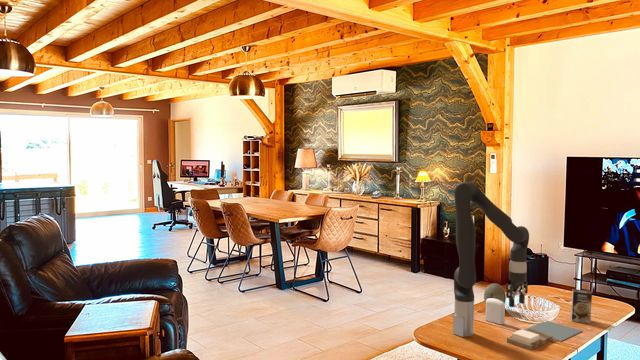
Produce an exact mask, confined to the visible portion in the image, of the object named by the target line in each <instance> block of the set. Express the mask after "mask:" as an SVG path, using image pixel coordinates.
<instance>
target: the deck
mask: <svg viewBox="0 0 640 360" xmlns="http://www.w3.org/2000/svg"><path fill="white" fill-rule="evenodd" d="M526 331H529V332H532V333H535V334H538V335H539V340H538V341H536V342H533V343H531V344H528V343H525V342H522V341H519V340H516V339H513V338H512V335H511V336H509V337H507V338H506V343H508V344H511V345H514V346H517V347H520V348H523V349H526V350H529V351H533V350H535V349H536V348H539V347H541V346H543V345H545V344H547V343H550V342H551V341H553V340H554V339H553V336H551V335H548V334H545V333H542V332H538V331H535V330H532V329H528V330H526Z"/></svg>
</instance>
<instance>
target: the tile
mask: <svg viewBox="0 0 640 360" xmlns="http://www.w3.org/2000/svg"><path fill="white" fill-rule="evenodd" d="M511 336H512V338H513V339H516V340H519V341H522V342H525V343H528V344H531V343H533V342H536V341H538V340H539V335H538V334H535V333H532V332H529V331H526V330H524V329H522V328H521V329H518V330H517V331H514V332H512V334H511Z"/></svg>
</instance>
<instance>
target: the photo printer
mask: <svg viewBox="0 0 640 360" xmlns="http://www.w3.org/2000/svg"><path fill="white" fill-rule="evenodd" d="M505 303H506V302H505ZM505 303H504V302H502V301H501V300H498V299H495V298H489V299H487V300H486V304H485V314H484V315H485V317H484V318H485V319H484V320H485V321H488V322H491V323H494V324H497V325H502V324H503V325H505V321H506V318H505V317H506V316H505V315H506V313H505V311H506V304H505Z"/></svg>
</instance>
